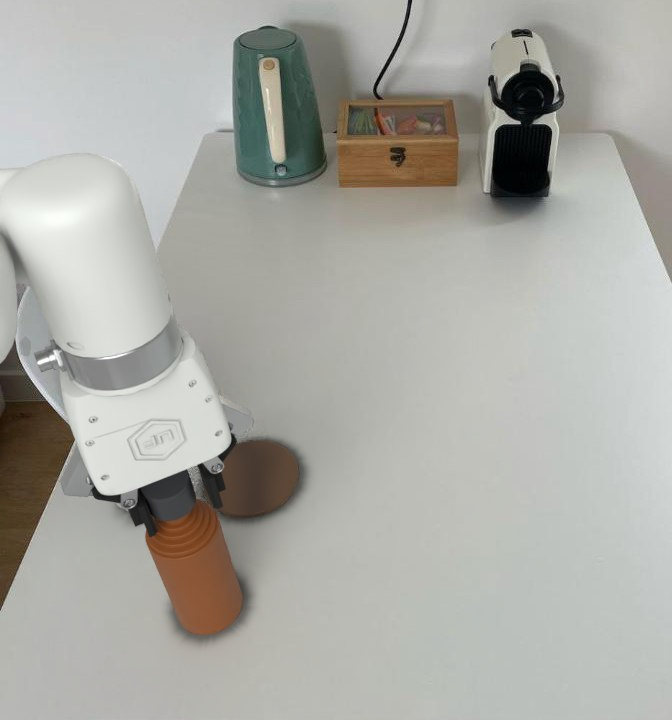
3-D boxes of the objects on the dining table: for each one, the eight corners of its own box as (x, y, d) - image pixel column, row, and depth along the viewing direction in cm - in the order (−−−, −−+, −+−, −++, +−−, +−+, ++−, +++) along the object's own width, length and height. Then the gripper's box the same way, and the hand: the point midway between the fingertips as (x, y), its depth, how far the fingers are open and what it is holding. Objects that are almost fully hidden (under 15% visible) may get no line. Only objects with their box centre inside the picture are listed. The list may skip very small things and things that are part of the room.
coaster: (221, 533, 81) (220, 529, 80) (192, 465, 87) (190, 462, 87) (313, 493, 84) (313, 489, 84) (278, 431, 91) (277, 427, 90)
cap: (152, 527, 63) (143, 505, 61) (145, 492, 65) (136, 469, 63) (200, 513, 64) (192, 490, 62) (192, 478, 66) (184, 455, 64)
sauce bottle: (189, 646, 72) (139, 530, 60) (169, 594, 76) (118, 475, 64) (252, 615, 74) (216, 496, 62) (229, 566, 78) (191, 446, 66)
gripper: (-6, 425, 48) (86, 591, 60) (262, 330, 54) (296, 500, 66) (-22, 351, 53) (66, 519, 65) (225, 272, 59) (263, 440, 71)
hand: (181, 508), depth 66 cm, fingers open, 4 cm apart
